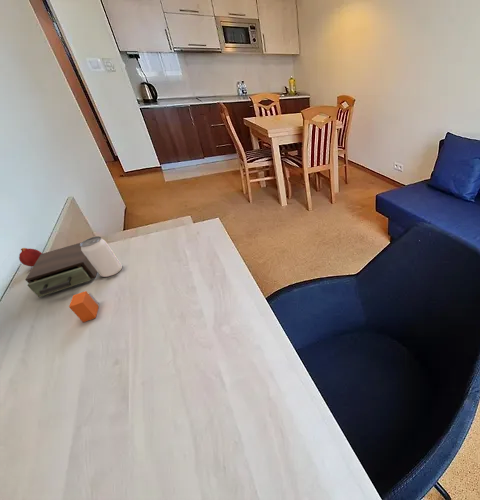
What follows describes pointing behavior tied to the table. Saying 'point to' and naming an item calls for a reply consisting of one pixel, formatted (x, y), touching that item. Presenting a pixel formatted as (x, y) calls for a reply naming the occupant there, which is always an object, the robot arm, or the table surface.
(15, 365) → the table surface
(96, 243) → the can
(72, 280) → the drawer
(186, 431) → the table surface
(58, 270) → the cabinet
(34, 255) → the onion
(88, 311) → the orange wooden toy brick
